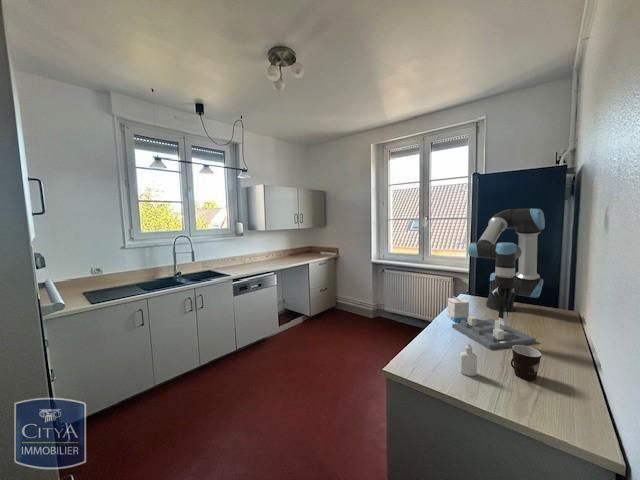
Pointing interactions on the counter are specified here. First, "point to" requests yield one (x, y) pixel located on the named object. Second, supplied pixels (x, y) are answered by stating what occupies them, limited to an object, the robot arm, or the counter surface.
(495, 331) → the tab
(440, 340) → the counter surface
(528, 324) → the counter surface
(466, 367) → the eye dropper bottle
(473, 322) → the tab
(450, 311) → the ink box
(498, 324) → the tab
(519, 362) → the coffee mug
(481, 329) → the switch board
